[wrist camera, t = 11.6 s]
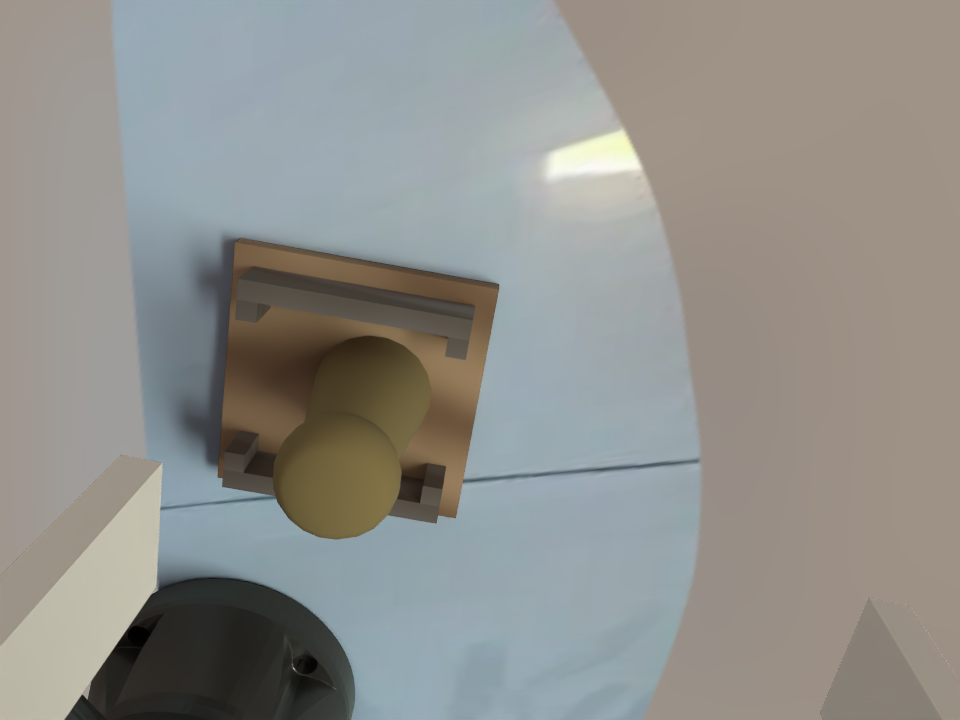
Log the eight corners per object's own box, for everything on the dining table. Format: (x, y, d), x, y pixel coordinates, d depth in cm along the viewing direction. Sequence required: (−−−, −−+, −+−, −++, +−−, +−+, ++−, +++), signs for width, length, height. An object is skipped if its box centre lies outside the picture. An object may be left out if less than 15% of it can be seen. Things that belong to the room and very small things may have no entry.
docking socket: (456, 508, 46) (452, 543, 43) (223, 468, 46) (201, 500, 43) (499, 284, 42) (498, 303, 39) (241, 238, 42) (217, 254, 38)
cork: (302, 426, 44) (238, 540, 33) (328, 320, 42) (268, 407, 31) (414, 457, 44) (384, 580, 34) (445, 354, 42) (423, 451, 32)
